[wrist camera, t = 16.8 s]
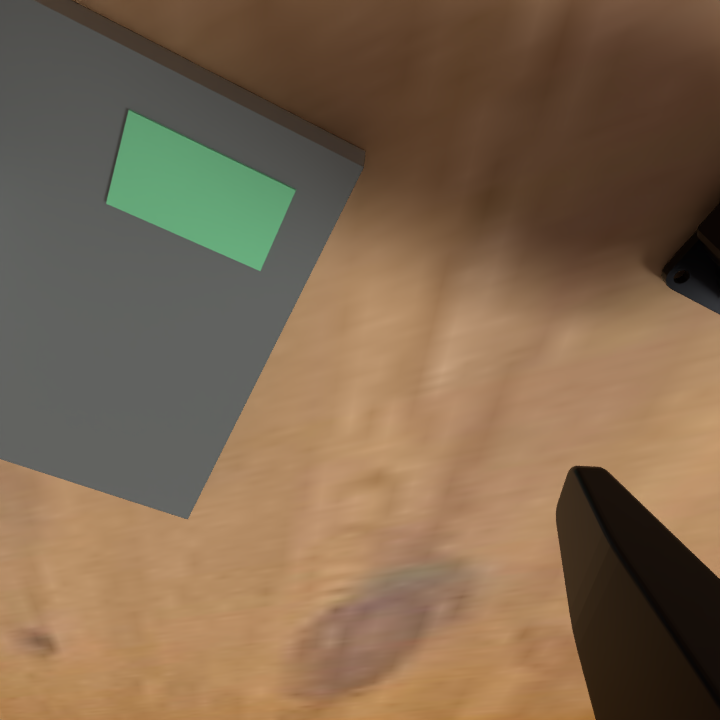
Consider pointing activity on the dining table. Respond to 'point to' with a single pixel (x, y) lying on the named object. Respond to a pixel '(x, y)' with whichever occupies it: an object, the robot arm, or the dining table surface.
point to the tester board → (143, 250)
